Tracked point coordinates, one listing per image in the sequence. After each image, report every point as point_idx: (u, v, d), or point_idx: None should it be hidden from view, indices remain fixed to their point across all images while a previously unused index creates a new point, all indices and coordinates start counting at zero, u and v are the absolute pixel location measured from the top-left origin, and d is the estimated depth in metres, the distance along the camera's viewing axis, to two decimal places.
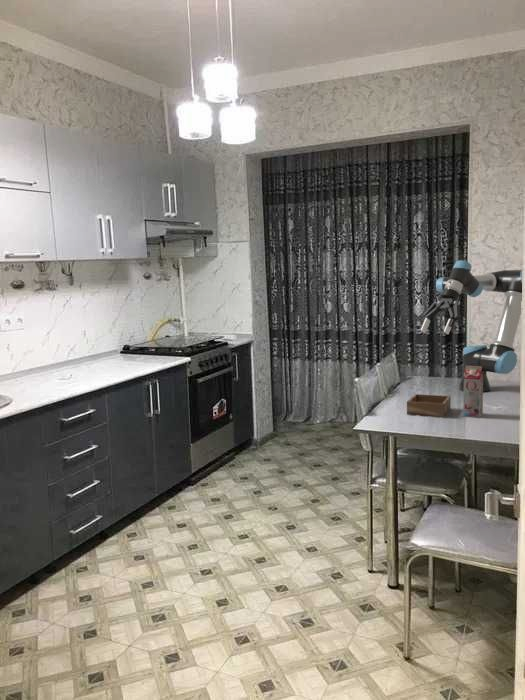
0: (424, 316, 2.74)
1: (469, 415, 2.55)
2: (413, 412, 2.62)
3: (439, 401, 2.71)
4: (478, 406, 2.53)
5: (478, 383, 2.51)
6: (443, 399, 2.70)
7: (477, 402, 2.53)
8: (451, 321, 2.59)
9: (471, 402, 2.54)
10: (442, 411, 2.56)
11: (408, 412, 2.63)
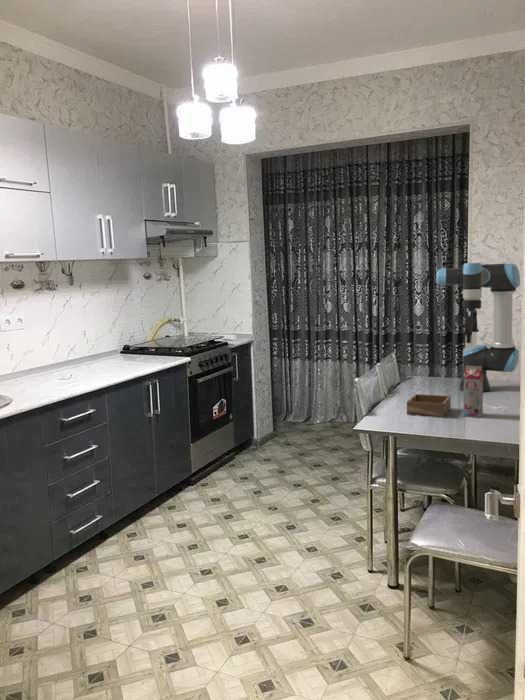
0: None
1: (469, 415, 2.55)
2: (413, 412, 2.62)
3: (439, 401, 2.71)
4: (478, 406, 2.53)
5: (478, 383, 2.51)
6: (443, 399, 2.70)
7: (477, 402, 2.53)
8: (466, 337, 2.47)
9: (471, 402, 2.54)
10: (442, 411, 2.56)
11: (408, 412, 2.63)
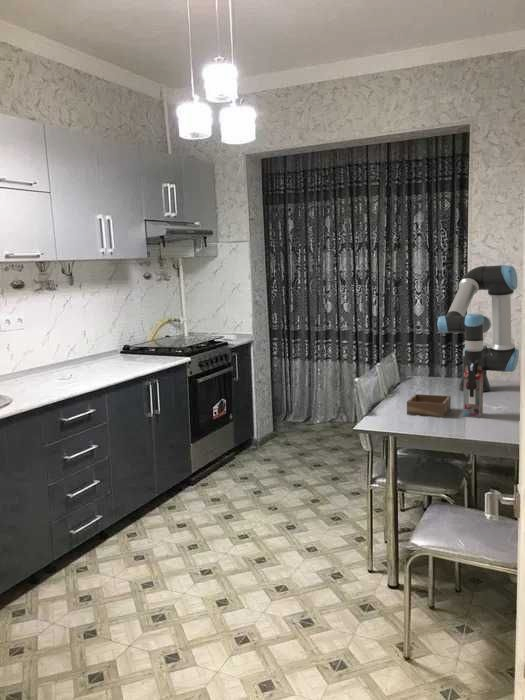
0: None
1: (469, 415, 2.55)
2: (413, 412, 2.62)
3: (439, 401, 2.71)
4: (478, 406, 2.53)
5: (478, 383, 2.51)
6: (443, 399, 2.70)
7: (477, 402, 2.53)
8: (470, 392, 2.52)
9: None
10: (442, 411, 2.56)
11: (408, 412, 2.63)
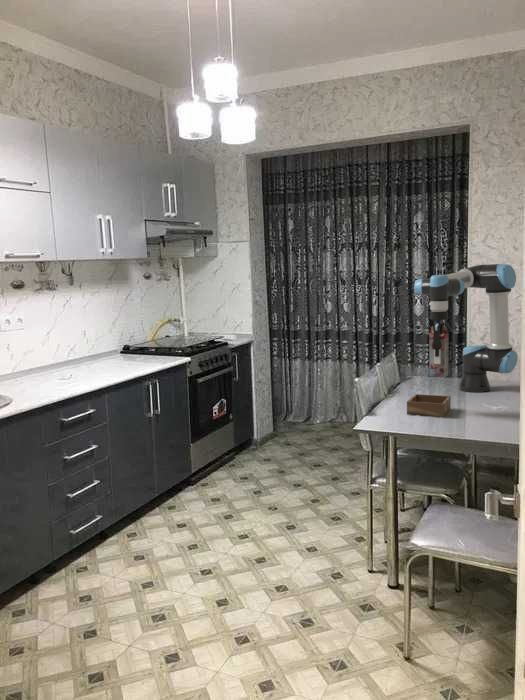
0: None
1: (435, 375, 2.59)
2: (413, 412, 2.62)
3: (439, 401, 2.71)
4: (443, 366, 2.57)
5: (443, 343, 2.56)
6: (443, 399, 2.70)
7: (442, 362, 2.57)
8: (435, 351, 2.56)
9: None
10: (442, 411, 2.56)
11: (408, 412, 2.63)
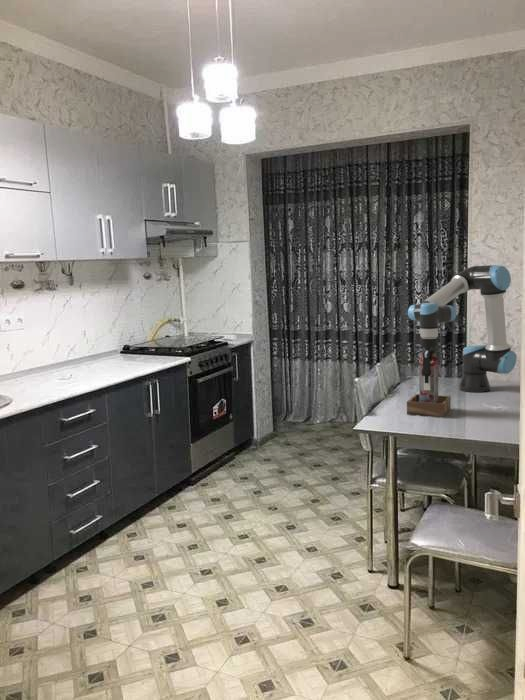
0: None
1: (424, 401, 2.63)
2: (413, 412, 2.62)
3: (439, 401, 2.71)
4: (433, 392, 2.61)
5: (433, 370, 2.59)
6: (443, 399, 2.70)
7: (432, 388, 2.61)
8: (425, 378, 2.60)
9: None
10: (442, 411, 2.56)
11: (408, 412, 2.63)
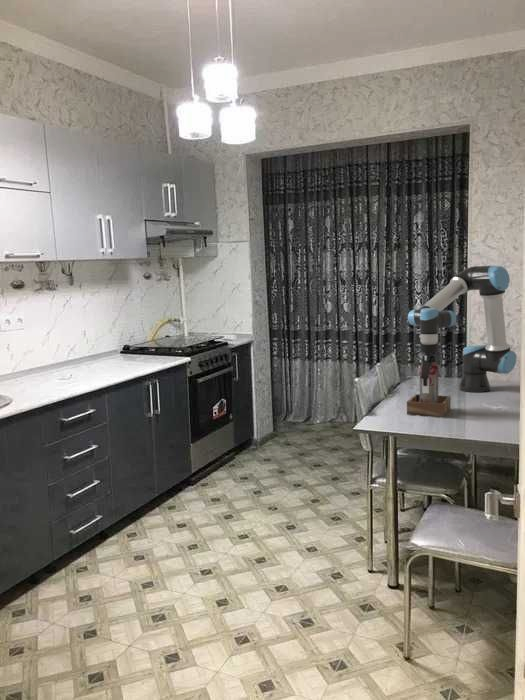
0: None
1: None
2: (413, 412, 2.62)
3: (439, 401, 2.71)
4: (433, 400, 2.61)
5: (433, 378, 2.60)
6: (443, 399, 2.70)
7: (432, 397, 2.61)
8: None
9: (427, 397, 2.63)
10: (442, 411, 2.56)
11: (408, 412, 2.63)
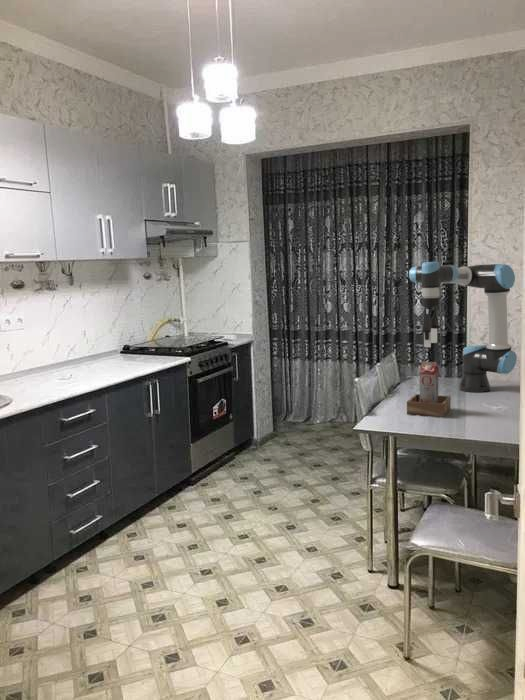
0: None
1: None
2: (413, 412, 2.62)
3: (439, 401, 2.71)
4: (433, 400, 2.61)
5: (433, 378, 2.60)
6: (443, 399, 2.70)
7: (432, 397, 2.61)
8: (425, 335, 2.55)
9: (427, 397, 2.63)
10: (442, 411, 2.56)
11: (408, 412, 2.63)
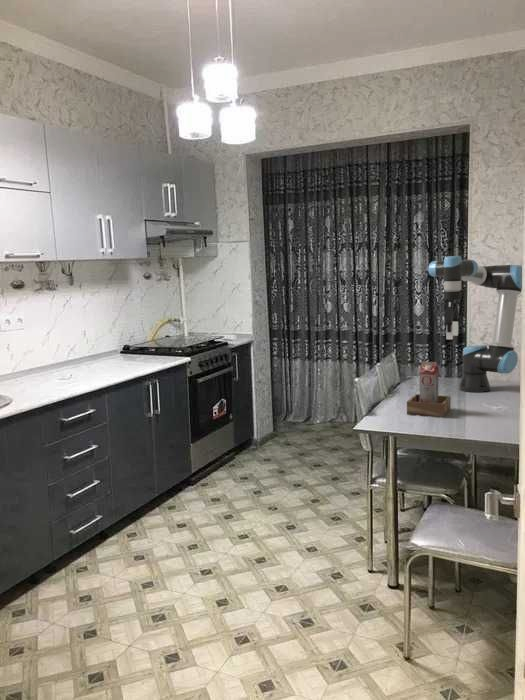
0: None
1: None
2: (413, 412, 2.62)
3: (439, 401, 2.71)
4: (433, 400, 2.61)
5: (433, 378, 2.60)
6: (443, 399, 2.70)
7: (432, 397, 2.61)
8: None
9: (427, 397, 2.63)
10: (442, 411, 2.56)
11: (408, 412, 2.63)
